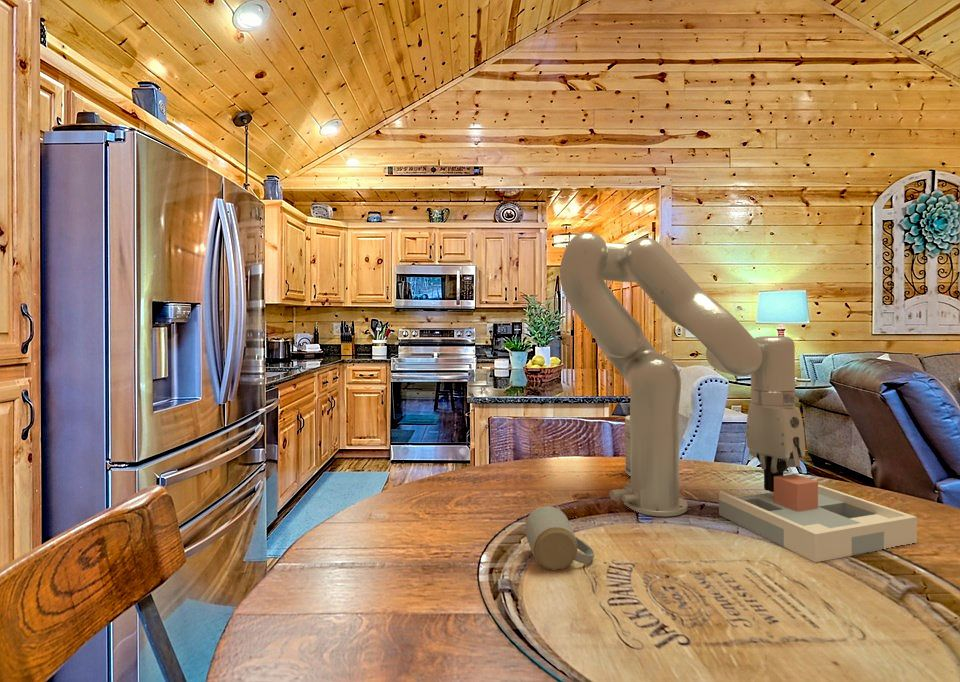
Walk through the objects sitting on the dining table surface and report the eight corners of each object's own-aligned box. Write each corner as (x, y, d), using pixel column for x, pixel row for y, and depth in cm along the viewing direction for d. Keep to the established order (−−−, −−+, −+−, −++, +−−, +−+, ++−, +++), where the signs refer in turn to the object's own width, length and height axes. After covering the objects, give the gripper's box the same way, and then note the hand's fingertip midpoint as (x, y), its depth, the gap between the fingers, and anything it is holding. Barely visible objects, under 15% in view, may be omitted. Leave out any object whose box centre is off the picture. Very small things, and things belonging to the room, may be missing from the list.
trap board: (815, 562, 77) (815, 534, 77) (719, 514, 97) (718, 492, 97) (916, 543, 83) (917, 516, 83) (806, 501, 103) (806, 480, 103)
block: (797, 511, 90) (797, 484, 90) (773, 502, 95) (773, 476, 95) (817, 508, 91) (818, 481, 91) (793, 499, 96) (793, 473, 96)
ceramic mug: (533, 574, 75) (533, 525, 75) (524, 550, 83) (524, 505, 83) (601, 572, 76) (601, 523, 76) (585, 548, 84) (586, 503, 84)
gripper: (823, 402, 91) (823, 500, 92) (756, 392, 105) (757, 477, 106) (791, 405, 89) (792, 505, 90) (728, 395, 103) (729, 481, 104)
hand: (773, 490), depth 98 cm, fingers closed
